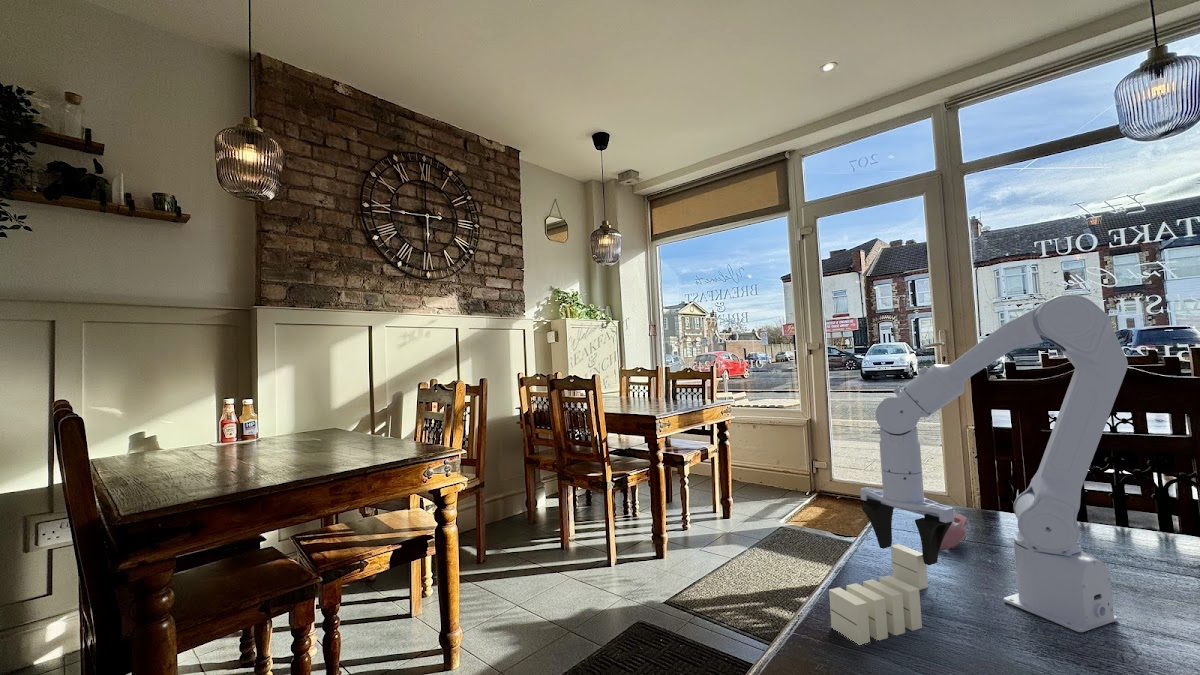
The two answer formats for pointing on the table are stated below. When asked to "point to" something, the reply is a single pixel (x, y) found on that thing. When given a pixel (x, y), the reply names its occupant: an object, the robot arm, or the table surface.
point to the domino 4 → (909, 566)
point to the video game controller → (954, 533)
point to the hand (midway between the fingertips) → (907, 554)
